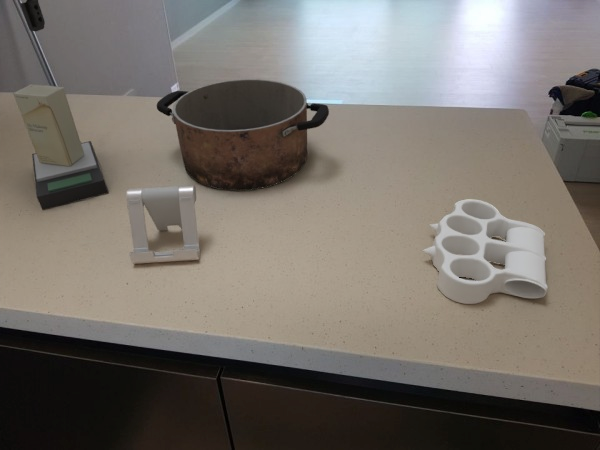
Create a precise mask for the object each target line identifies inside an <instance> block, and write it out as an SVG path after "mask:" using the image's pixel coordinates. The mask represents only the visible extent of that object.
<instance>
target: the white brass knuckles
mask: <svg viewBox="0 0 600 450" xmlns="http://www.w3.org/2000/svg"><path fill="white" fill-rule="evenodd" d="M428 226H429V227H430V228H431V229H432V230H433V231H434V233H436V234H435V237H434V240H433V245H432V246H429V247H427V248H425V249H422V250H421V252H422V253H424V254H426V255H428V256H429V257H431V261H432V266H433V265H434V266H435V267H436V268H437V269H436V268H435V267H434V266H433V267H434V268H435V269H436V271H437V272H438V271H439V272H438V277H437V283H436V286H437V288H438V291H440V293H441V294H442V295H443V296H445V297H446V298H448V299H449V300H451V301H453V302H456V303H459V304H465V305H475V304H479V303H482V302H484V301H486V300H487V298H489V296H490V295H492V294H498V293H501V294H506V295H510V296H513V297H520V298H524V299H543V298H545V296H546V295H547V291H548V287H549V286H548V284H547V278H546V277H547V276H546V261H547V257H546V255H545V236H546V232H545V231H543V229H541V228H540V227H539V226H537V225H535V224H532V223H528V222H525V221H521V220H516V219H510V218H507V216H506V217H505V216H504V215H502V214H501V213H500V211H499V210H498V208H497V207H496V206H495V205H492V204H491V203H490V202H487V201H485V200H480V199H476V198H475V199H474V198H468V199H467V198H466V199H461V200H459V201H457V202H455V203H454V205H453V209H452V212H451V213H448V214H445V215H444V216H443V217H442V219H441V220H439V222H438V223H430V224H428ZM462 233H463V234H462ZM492 236H500V237H501V238H502V239H505V240H506V242H505V241H502V240H500V239H495V238H490V237H492ZM452 253H453V254H452ZM456 254H462V255H456ZM488 261H491V262H496V263H500V264H505V266H504V268H503V269H499V268H497V267H494V265H492V263H490V262H488ZM459 277H466V278H459ZM469 278H472V279H469ZM473 279H474V280H473ZM475 280H476V281H475Z"/></svg>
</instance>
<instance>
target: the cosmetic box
mask: <svg viewBox="0 0 600 450" xmlns="http://www.w3.org/2000/svg"><path fill="white" fill-rule="evenodd" d="M12 95H13V97H14V100H15V102H16V104H17V107H18V110H19V112H20V115H21V117H22V120H23V123H24V126H25V128H26V130H27V131H26V132H27V134H28V136H29V138H30V141H31V144H32V146H33V149H34V153H36V154H37V157H38V160H39V162H41V163H48V164H55V165H62V166H71V165H72V164H74V163H75V162H76V161H78V160H79V159H80V158H82V157H83V156H84V151H83V148H82V145H81V143H82V142H81V139H80V136H79V132H78V129H77V126H76V123H75V120H74V117H73V114H72V110H71V107H70V104H69V100H68V97H67V94H66V91H65V88H64V86H57V85H46V84H45V85H44V84H33V83H30V84H29V85H26V86H24V87H23V88H21V89H18V90H16V91H14V92H12Z"/></svg>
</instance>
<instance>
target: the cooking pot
mask: <svg viewBox="0 0 600 450" xmlns="http://www.w3.org/2000/svg"><path fill="white" fill-rule="evenodd" d="M172 104H173V107H172V108H170V106H171V105H172ZM308 109H309V110H310V111H311V112H315V114H314V115H313V116H312V118H311V119H310V120H308V111H307V110H308ZM156 110H157V111H158V112H160V113H162V114H163V115H165V116H167V117H171V121H172V123H173V125H175V128H176V129H175V130H176V132H177V134H176V135H177V138H178V143H179V148H180V153H181V157H182V162H183V167H184V169H185V171H186V173H187V174H188V175H189V176H190V177H192V179H194V180H195V181H197V182H198V183H200V184H203V185H204V186H207V187H211V188H214V189H218V190H224V191H251V189H252V190H257V188H259V189H263V188H262V187H264V188H268V187H271V186H270V185H272V186H274V184H275V185H277V184H280V183H282V182H285V181H286V180H289V179H290V178H291V176H292V177H293V176H294V175H295V173H296V174H298V172H299V171H300V170H301V169H302V168H303V166H304V165H305V164H306V162H307V159H308V130H311V129H315V128H319V127H320V126H322V125H323V124H324V123H325V122H326V120H327V119H328V117H329V114H330V109H329V106H328V105H326V104H323V103H313V102H312V103H311V104H310V105H309V102H308V101H307V97H306V94H305V93H304V92H303V91H302V90H301V89H300V88H297V87H295V86H293V85H290V84H288V83H284V82H281V81H276V80H271V79H260V78H246V79H245V78H244V79H230V80H224V81H223V80H222V81H217V82H213V83H210V84H206V85H202V86H200V87H197V88H194V89H192V90H190V91H185V90H175V91H171V92H170V93H168V94H166V95H165V96H163V97H162V98H161V99H159V100H158V101H157V103H156ZM284 180H285V181H284ZM281 181H282V182H281ZM279 182H280V183H279ZM276 183H277V184H276ZM267 186H268V187H267Z"/></svg>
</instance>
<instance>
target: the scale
mask: <svg viewBox="0 0 600 450" xmlns="http://www.w3.org/2000/svg"><path fill="white" fill-rule="evenodd" d="M81 145H82V148H83V151H84V156H83V157H82V158H80V159H79V160H78V161H76V162H75V163H74V164H72V165H71V166H62V165H55V164H48V163H41V162H39V160H38V157H37V154H36V152H34V153H32V154H31V157H32V164H33V165H32V166H33V167H32V168H33V175H34V184H35V194H36V199H37V201H38V203H39V206H40V208H41V210H42V211H44V210H48V209H52V208H57V207H60V206H64V205H68V204H72V203H75V202H79V201H84V200H86V199H90V198H94V197H99V196H101V195H106V194H109V190H108V186H107V183H106V180H105V177H104V175H103V171H102V169H101V166H100V163H99V160H98V157H97V154H96V152H95V151H96V150H95V149H94V146H93V143H92V141H91V140H89V141H85V142H81Z"/></svg>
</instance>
